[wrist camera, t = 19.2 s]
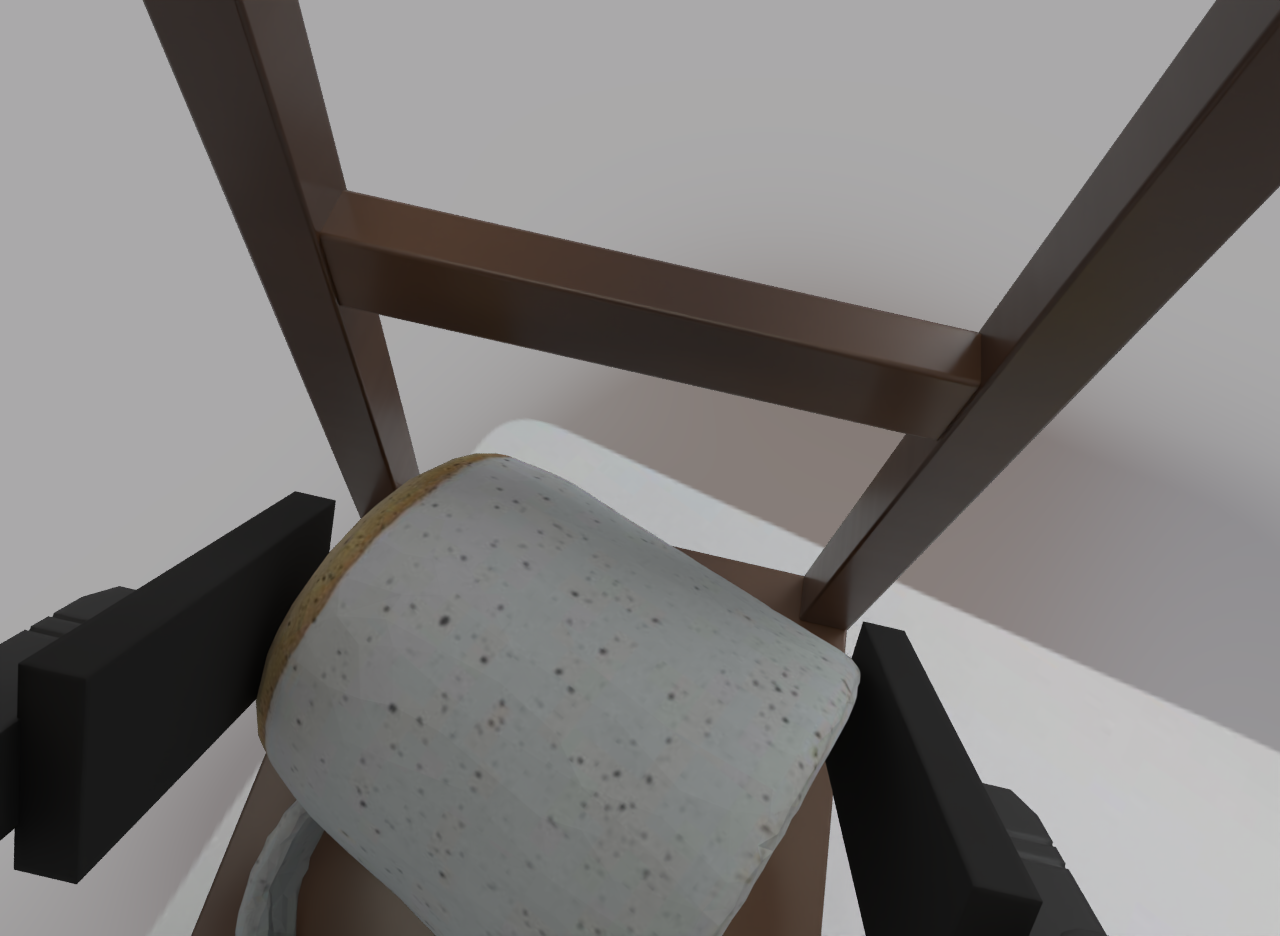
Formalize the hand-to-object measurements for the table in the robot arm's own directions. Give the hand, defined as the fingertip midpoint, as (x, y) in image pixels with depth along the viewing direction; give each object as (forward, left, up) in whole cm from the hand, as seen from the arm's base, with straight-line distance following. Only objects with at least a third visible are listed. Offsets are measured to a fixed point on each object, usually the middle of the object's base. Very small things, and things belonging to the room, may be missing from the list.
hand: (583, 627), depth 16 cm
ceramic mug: (0, -3, -4) cm, 5 cm away
